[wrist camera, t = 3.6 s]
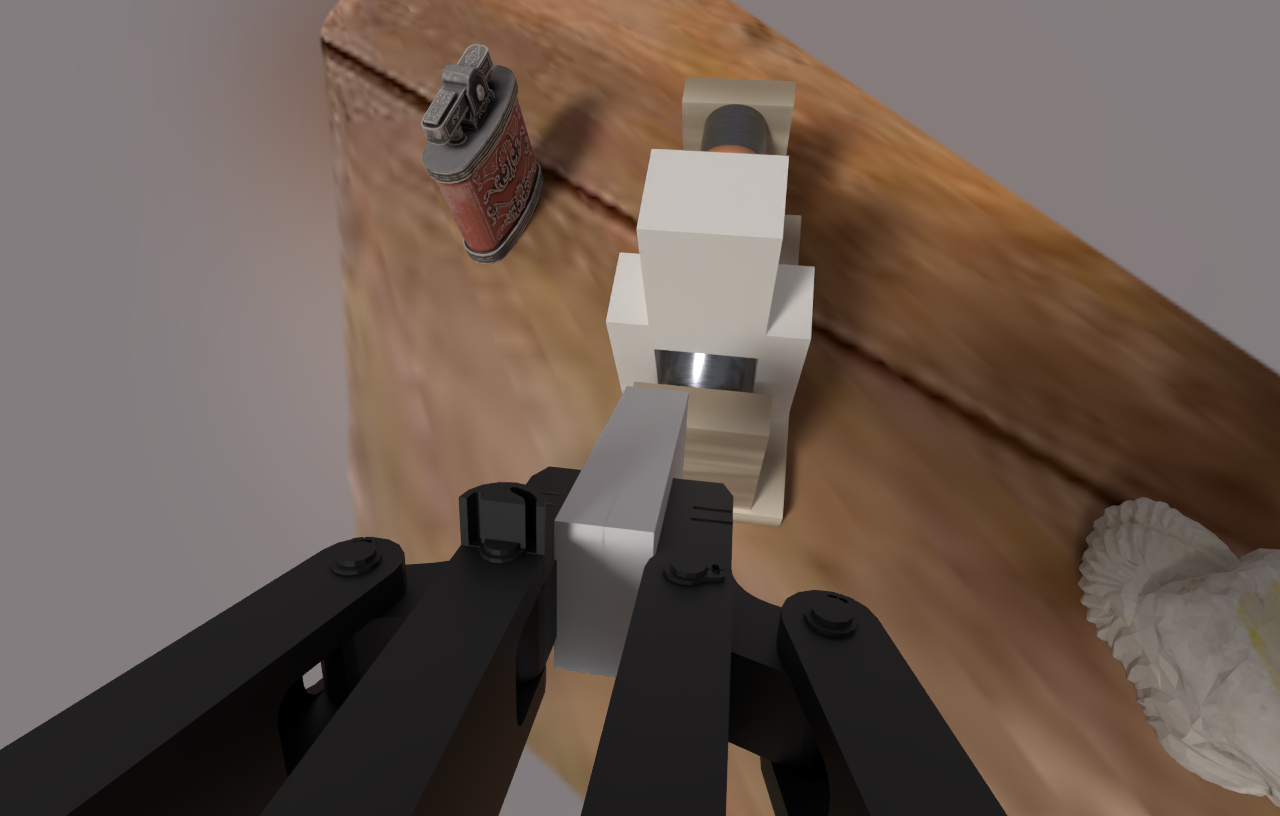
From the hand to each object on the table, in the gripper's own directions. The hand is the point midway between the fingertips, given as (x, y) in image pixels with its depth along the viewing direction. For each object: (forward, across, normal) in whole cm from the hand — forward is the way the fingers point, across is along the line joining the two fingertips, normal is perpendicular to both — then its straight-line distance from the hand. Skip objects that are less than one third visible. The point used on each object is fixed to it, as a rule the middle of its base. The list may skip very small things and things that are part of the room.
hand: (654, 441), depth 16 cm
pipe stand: (+21, +1, -4) cm, 21 cm away
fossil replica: (+12, +22, -13) cm, 28 cm away
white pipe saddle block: (+14, +1, -3) cm, 14 cm away
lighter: (+27, -13, +3) cm, 31 cm away
